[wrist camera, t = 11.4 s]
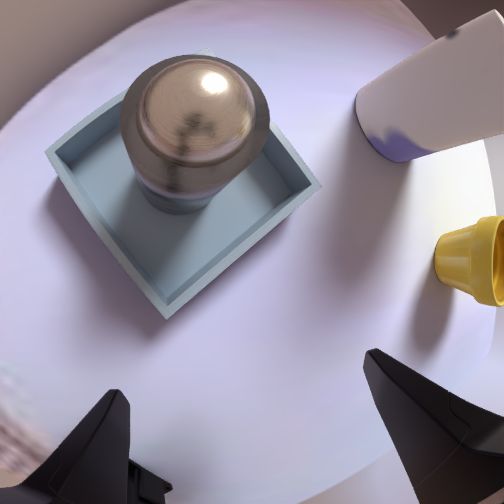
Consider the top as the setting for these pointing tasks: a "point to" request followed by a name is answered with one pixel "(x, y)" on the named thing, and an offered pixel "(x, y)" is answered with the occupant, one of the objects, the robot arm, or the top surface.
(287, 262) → the top surface
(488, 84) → the container
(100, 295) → the top surface
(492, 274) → the plant pot
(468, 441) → the robot arm
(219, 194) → the bin
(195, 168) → the metallic can
